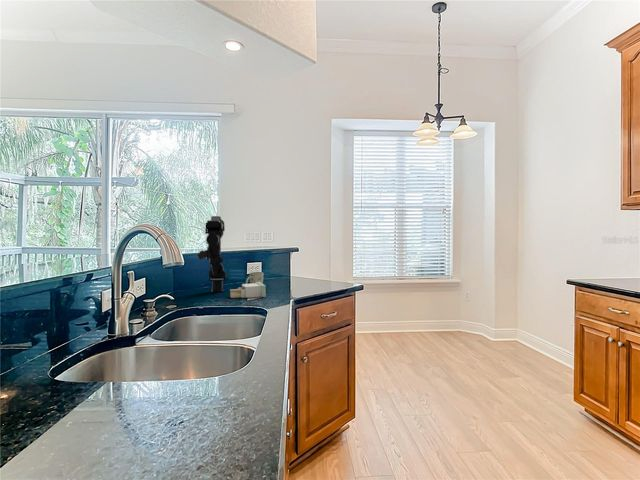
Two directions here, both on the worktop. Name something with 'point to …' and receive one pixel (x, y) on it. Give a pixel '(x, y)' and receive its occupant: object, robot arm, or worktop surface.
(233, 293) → the dowel
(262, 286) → the wall
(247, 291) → the block
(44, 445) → the worktop surface
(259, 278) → the mug
